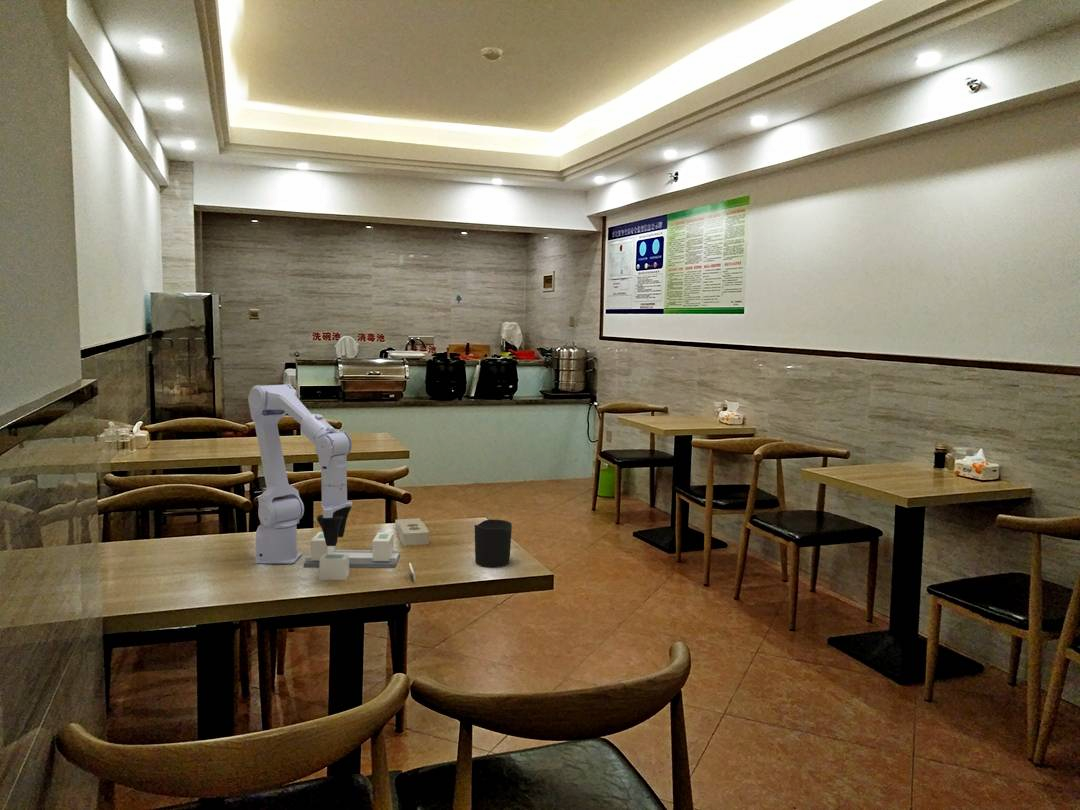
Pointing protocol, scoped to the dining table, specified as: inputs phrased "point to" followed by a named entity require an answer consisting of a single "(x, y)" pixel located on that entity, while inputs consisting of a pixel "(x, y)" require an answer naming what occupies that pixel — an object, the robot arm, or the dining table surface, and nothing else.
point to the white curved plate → (412, 573)
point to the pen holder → (493, 543)
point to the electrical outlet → (412, 532)
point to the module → (334, 566)
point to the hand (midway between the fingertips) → (335, 541)
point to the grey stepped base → (358, 552)
